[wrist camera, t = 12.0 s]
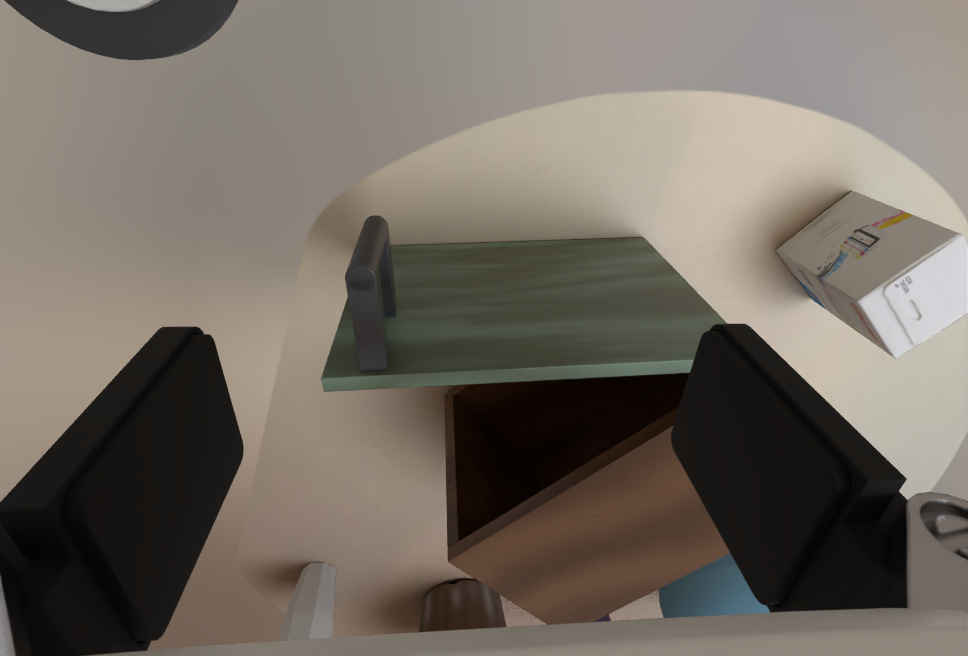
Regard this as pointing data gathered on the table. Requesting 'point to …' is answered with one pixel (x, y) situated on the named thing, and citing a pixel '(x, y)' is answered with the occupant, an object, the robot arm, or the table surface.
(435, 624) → the plant pot
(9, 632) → the robot arm
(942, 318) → the ink box
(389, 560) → the table surface
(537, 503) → the cupboard
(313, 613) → the low poly bottle
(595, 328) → the cupboard door
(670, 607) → the vase
